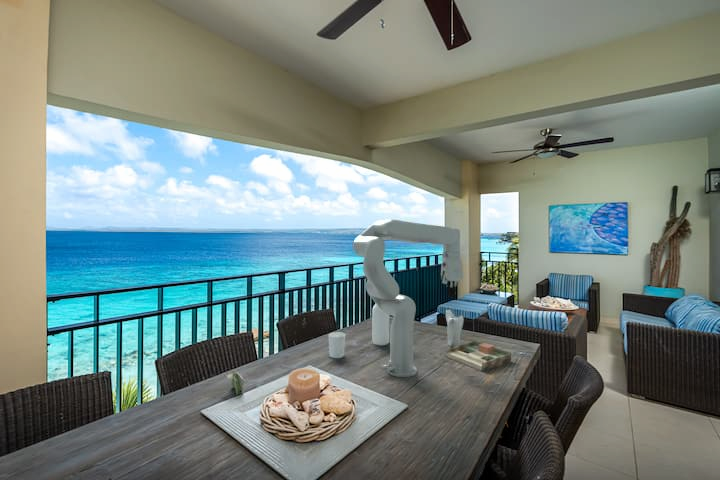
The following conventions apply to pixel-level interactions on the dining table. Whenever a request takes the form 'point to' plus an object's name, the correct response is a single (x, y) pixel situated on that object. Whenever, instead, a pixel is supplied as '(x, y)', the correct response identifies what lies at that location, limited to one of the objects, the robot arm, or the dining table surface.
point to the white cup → (336, 344)
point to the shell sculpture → (453, 328)
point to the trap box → (478, 356)
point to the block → (486, 348)
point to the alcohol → (380, 326)
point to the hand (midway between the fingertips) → (451, 295)
